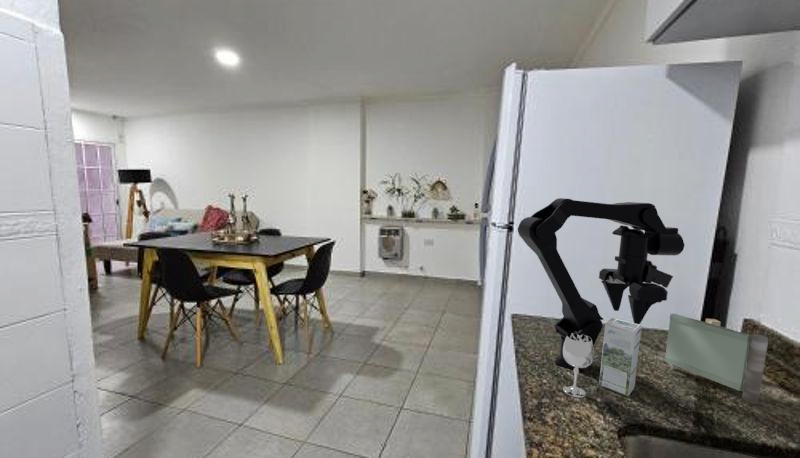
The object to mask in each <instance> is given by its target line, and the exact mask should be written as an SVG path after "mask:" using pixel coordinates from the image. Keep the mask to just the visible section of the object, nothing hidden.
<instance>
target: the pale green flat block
mask: <svg viewBox="0 0 800 458" xmlns="http://www.w3.org/2000/svg"><path fill="white" fill-rule="evenodd" d="M668 326H669V327H668V333H667V341H666V350H665V356H664V362H665V363H668V364H670V365H673V366H675V367H678V368H680V369H683V370H686V371H688V372H690V373H694V374H695V375H698V376H700V377H703V378H705V379H708V380H710V381H712V382H716V383H719V384H720V385H724V386H726V387H728V388H731V389H734V390H736V391H739V392H742V391H741V390H743V386H744V381H745V375H746V368H747V362H748V355H749V349H750V342H751V336H752V334H749V333H745V332H742V331H738V330H733V329H730V328H726V327H723V326H721V325H720V326H717V325H713V324H710V323H706V322H705V321H702V320H699V319H695V318H692V317H687V316H684V315H681V314H677V313H670V315H669V325H668Z"/></svg>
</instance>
